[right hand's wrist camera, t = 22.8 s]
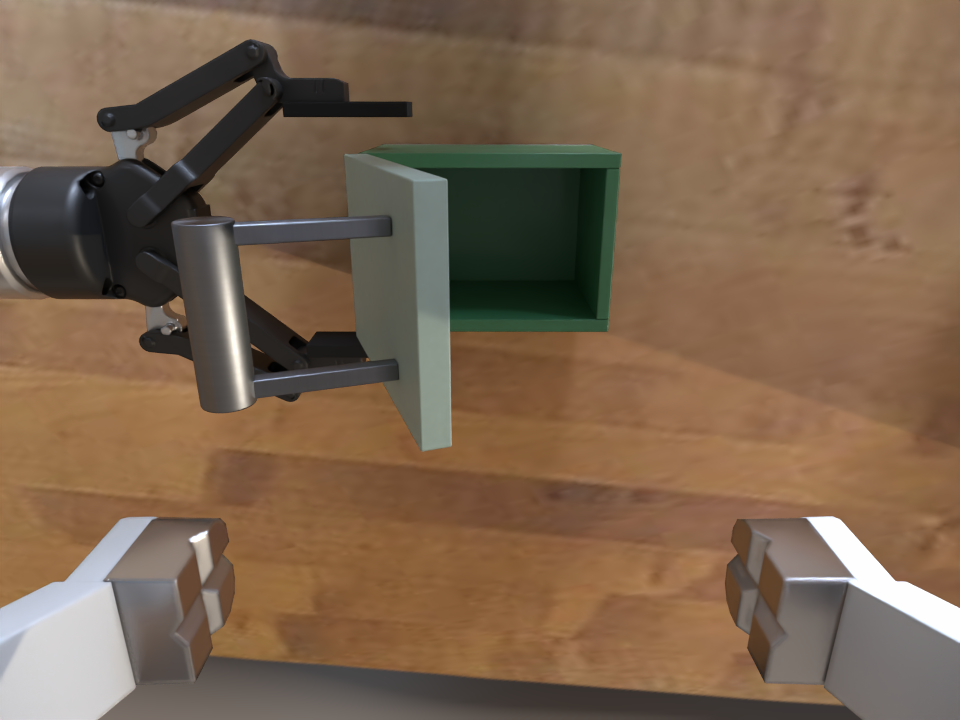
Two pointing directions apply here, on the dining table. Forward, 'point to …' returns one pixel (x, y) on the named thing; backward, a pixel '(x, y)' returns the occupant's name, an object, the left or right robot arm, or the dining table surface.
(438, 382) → the lid
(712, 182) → the dining table surface
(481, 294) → the chest
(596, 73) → the dining table surface
